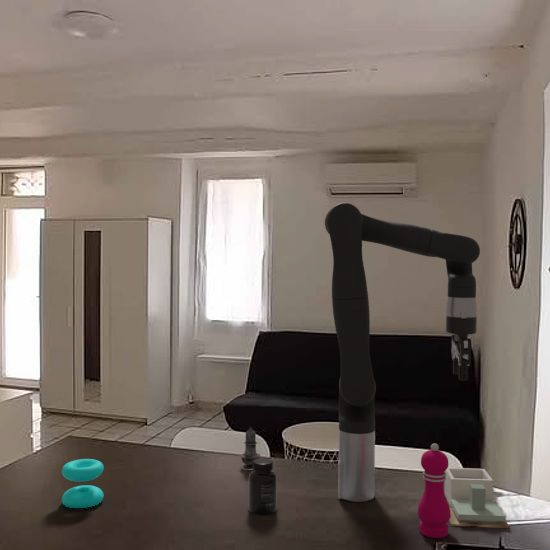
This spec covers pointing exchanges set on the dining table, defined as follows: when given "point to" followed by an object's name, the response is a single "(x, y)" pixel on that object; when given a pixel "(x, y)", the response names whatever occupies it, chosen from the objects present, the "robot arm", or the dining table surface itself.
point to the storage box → (466, 483)
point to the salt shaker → (250, 450)
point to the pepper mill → (434, 495)
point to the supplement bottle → (262, 488)
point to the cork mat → (456, 522)
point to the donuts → (85, 493)
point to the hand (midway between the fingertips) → (460, 377)
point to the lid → (477, 507)
